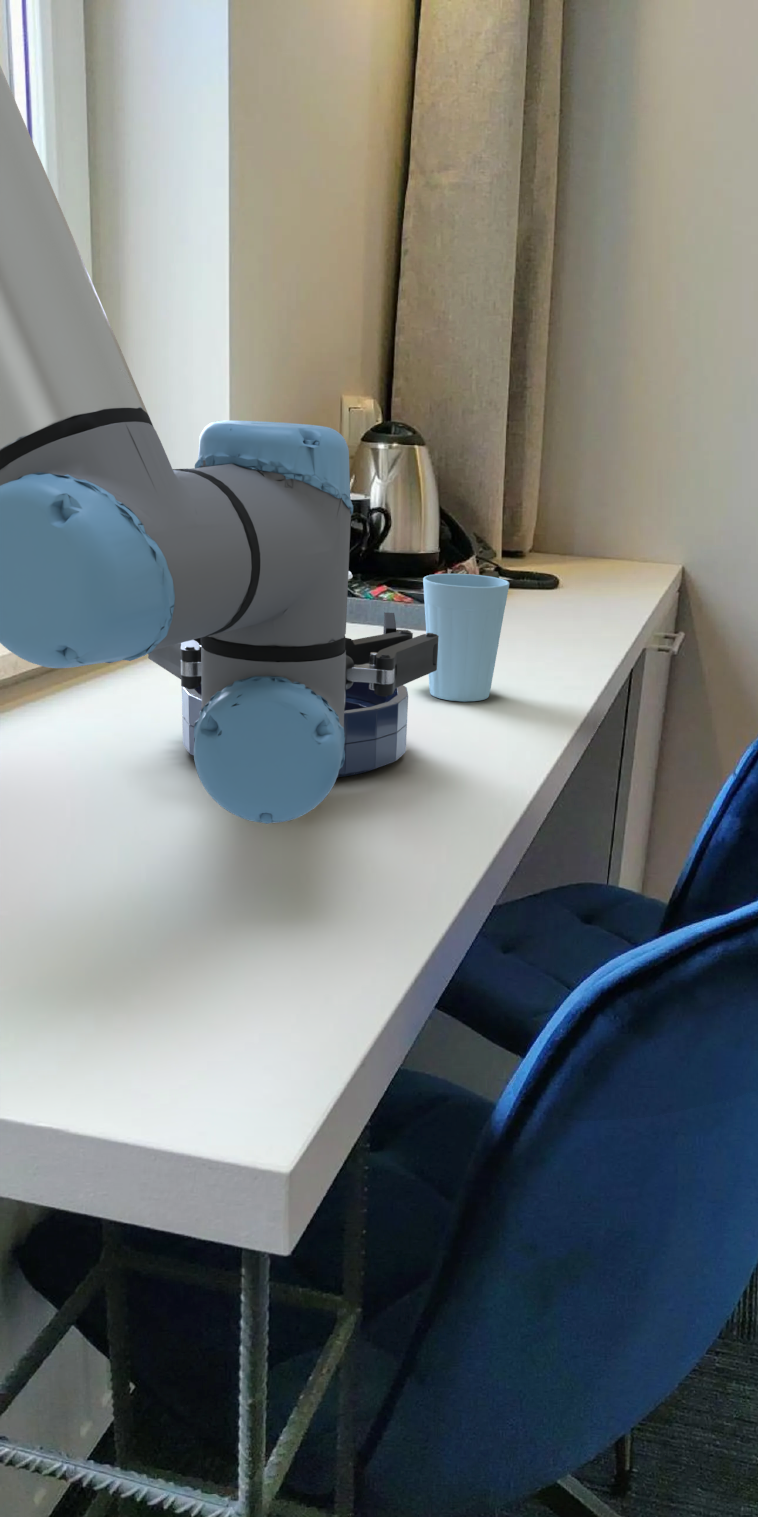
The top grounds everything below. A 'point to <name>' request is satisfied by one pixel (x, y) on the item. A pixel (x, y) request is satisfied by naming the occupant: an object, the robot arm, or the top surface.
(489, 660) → the cup
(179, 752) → the top surface
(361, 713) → the bowl
